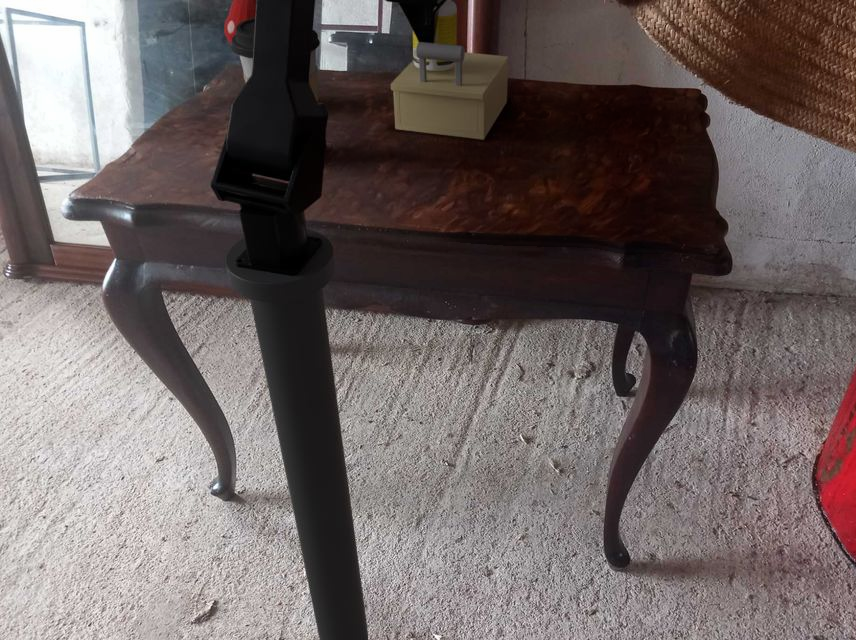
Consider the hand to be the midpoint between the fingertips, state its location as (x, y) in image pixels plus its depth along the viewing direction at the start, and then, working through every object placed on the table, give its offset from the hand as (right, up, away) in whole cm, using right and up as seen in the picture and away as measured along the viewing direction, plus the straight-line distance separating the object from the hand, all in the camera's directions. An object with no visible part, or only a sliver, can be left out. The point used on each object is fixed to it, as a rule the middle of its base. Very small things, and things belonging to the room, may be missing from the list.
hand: (435, 45), depth 98 cm
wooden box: (+2, -7, +6) cm, 9 cm away
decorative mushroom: (-22, -5, +8) cm, 24 cm away
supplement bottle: (0, -2, +2) cm, 3 cm away
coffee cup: (-17, -15, -4) cm, 23 cm away
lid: (+2, -3, +2) cm, 4 cm away
